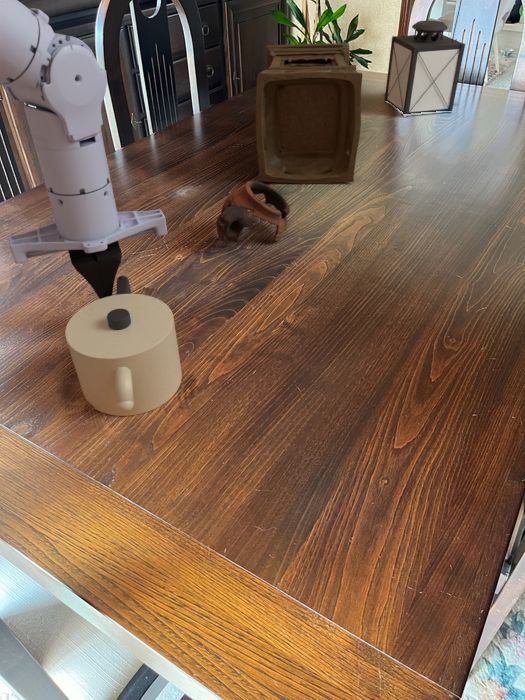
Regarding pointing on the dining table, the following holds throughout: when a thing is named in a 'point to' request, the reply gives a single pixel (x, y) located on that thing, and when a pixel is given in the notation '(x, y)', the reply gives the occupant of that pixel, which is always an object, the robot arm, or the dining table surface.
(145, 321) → the kettle
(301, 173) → the ornamental box
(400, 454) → the dining table surface
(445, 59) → the lantern
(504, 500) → the dining table surface
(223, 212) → the brown hollow curved piece
